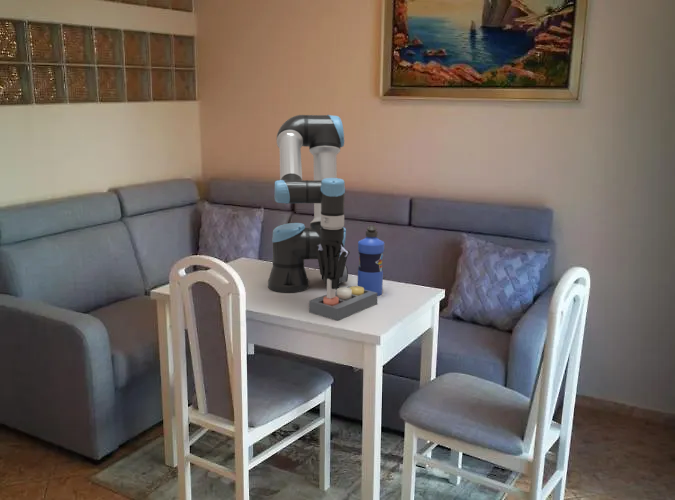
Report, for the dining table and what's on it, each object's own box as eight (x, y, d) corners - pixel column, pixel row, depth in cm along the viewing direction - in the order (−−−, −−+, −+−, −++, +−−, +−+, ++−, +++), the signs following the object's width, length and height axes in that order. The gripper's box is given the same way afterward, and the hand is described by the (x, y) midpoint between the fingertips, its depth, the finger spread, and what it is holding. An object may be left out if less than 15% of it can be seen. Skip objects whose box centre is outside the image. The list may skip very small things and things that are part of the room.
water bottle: (353, 295, 240) (355, 227, 234) (360, 288, 249) (362, 221, 242) (379, 298, 237) (381, 229, 231) (385, 290, 246) (387, 224, 240)
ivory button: (333, 298, 225) (333, 289, 225) (342, 295, 229) (343, 286, 228) (345, 302, 222) (345, 292, 222) (354, 298, 226) (354, 289, 225)
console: (309, 312, 222) (309, 300, 221) (349, 296, 239) (349, 285, 238) (337, 320, 215) (337, 308, 214) (377, 303, 231) (377, 292, 230)
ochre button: (346, 297, 231) (346, 288, 230) (355, 293, 235) (355, 285, 234) (357, 300, 228) (358, 291, 227) (366, 296, 232) (366, 288, 231)
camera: (352, 290, 246) (352, 264, 243) (328, 291, 244) (328, 265, 241) (341, 278, 260) (341, 253, 258) (318, 279, 258) (318, 254, 256)
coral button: (320, 307, 220) (320, 298, 220) (329, 303, 224) (329, 294, 223) (332, 310, 217) (332, 301, 217) (341, 307, 221) (341, 297, 220)
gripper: (309, 225, 215) (308, 295, 221) (340, 232, 207) (339, 304, 213) (324, 222, 221) (323, 290, 227) (355, 228, 213) (353, 298, 219)
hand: (331, 297), depth 220 cm, fingers closed
